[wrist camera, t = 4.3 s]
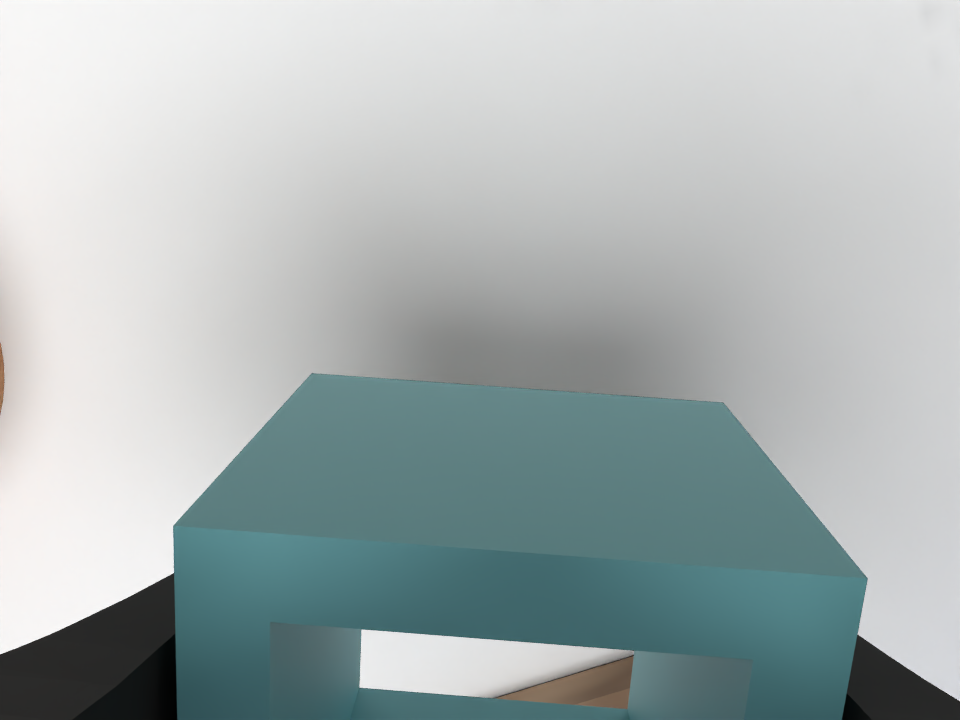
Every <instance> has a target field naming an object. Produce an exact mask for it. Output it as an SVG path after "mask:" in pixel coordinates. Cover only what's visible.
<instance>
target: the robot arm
mask: <svg viewBox="0 0 960 720" xmlns="http://www.w3.org/2000/svg"><path fill="white" fill-rule="evenodd" d="M0 720H177V682H176V633H175V585H174V573H173V574H171V575H170V576H168V577H166V578H164V579H162V580H160V581H158V582H156V583H155V584H153V585H151V586H149V587H147V588H145V589H143V590H141V591H140V592H138V593H136V594H134V595H132V596H130V597H128V598H126V599H124V600H122V601H120V602H118V603H116V604H114V605H112V606H109V607H107V608H105V609H103V610H101V611H99V612H97V613H95V614H93V615H91V616H89V617H87V618H84V619H82V620H80V621H78V622H76V623H74V624H72V625H70V626H68V627H66V628H64V629H61V630H59V631H57V632H55V633H52V634H50V635H48V636H45V637H43V638H41V639H38V640H36V641H33V642H31V643H29V644H26V645H24V646H21V647H19V648H16V649H14V650H11V651H8V652H6V653H3V654H0ZM842 720H960V701H958V700H957V699H955V698H953V697H952V696H950V695H949V694H947V693H945V692H944V691H942V690H940V689H939V688H937V687H935V686H934V685H932V684H931V683H929V682H927V681H926V680H924V679H923V678H921V677H920V676H918V675H917V674H915V673H914V672H912V671H910V670H909V669H907V668H906V667H904V666H903V665H901V664H900V663H898V662H897V661H895V660H894V659H892V658H891V657H889V656H888V655H886V654H885V653H883V652H882V651H881V650H879V649H878V648H876V647H875V646H873V645H872V644H870V643H869V642H867V641H866V640H864V639H863V638H862V637H860V636H859V635H857V639H856V645H855V650H854V655H853V661H852V666H851V672H850V677H849V683H848V688H847V694H846V699H845V704H844V710H843V715H842Z"/></svg>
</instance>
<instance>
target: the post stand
mask: <svg viewBox="0 0 960 720" xmlns="http://www.w3.org/2000/svg"><path fill="white" fill-rule="evenodd" d="M633 658H634V656H632V657H629V658H625V659H622V660H619V661H616V662H612V663H609V664H606V665H603V666H599V667H596V668H593V669H589V670H586V671H583V672H580V673H576V674H573V675H570V676H567V677H563V678H560V679H557V680H554V681H550V682H547V683H544V684H540V685H537V686H534V687H531V688H527V689H524V690H521V691H518V692H514V693H511V694H508V695H505V696H501V697H498V698H495V699H506V700H519V701H531V702H544V703H556V704H569V705H581V706H594V707H607V708H619V709H628V701H629V692H630V684H631V675H632V667H633Z"/></svg>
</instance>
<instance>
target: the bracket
mask: <svg viewBox="0 0 960 720" xmlns="http://www.w3.org/2000/svg"><path fill="white" fill-rule="evenodd" d="M3 394H4V362H3V355H2V348H1V343H0V413H1V408H2V403H3Z"/></svg>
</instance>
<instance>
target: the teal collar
mask: <svg viewBox="0 0 960 720" xmlns="http://www.w3.org/2000/svg"><path fill="white" fill-rule="evenodd" d="M173 537H174V585H175V633H176V682H177V720H842V715H843V710H844V704H845V699H846V694H847V688H848V683H849V677H850V672H851V666H852V661H853V655H854V650H855V645H856V639H857V634H858V628H859V623H860V617H861V612H862V606H863V601H864V595H865V590H866V585H867V579H868V578H867V577H866V576H865V575H864V573H863V572H862V571H861V570H860V569H859V567H858V566H857V565H856V564H855V563H854V561H853V560H852V559H851V558H850V556H849V555H848V554H847V553H846V552H845V550H844V549H843V548H842V547H841V545H840V544H839V543H838V542H837V541H836V539H835V538H834V537H833V536H832V535H831V533H830V532H829V531H828V530H827V528H826V527H825V526H824V525H823V524H822V522H821V521H820V520H819V519H818V517H817V516H816V515H815V514H814V513H813V511H812V510H811V509H810V508H809V506H808V505H807V504H806V503H805V502H804V500H803V499H802V498H801V497H800V496H799V494H798V493H797V492H796V491H795V489H794V488H793V487H792V486H791V485H790V483H789V482H788V481H787V480H786V478H785V477H784V476H783V475H782V474H781V472H780V471H779V470H778V469H777V468H776V466H775V465H774V464H773V463H772V461H771V460H770V459H769V458H768V457H767V455H766V454H765V453H764V452H763V450H762V449H761V448H760V447H759V446H758V444H757V443H756V442H755V441H754V440H753V438H752V437H751V436H750V435H749V433H748V432H747V431H746V430H745V429H744V427H743V426H742V425H741V424H740V422H739V421H738V420H737V419H736V418H735V416H734V415H733V414H732V413H731V412H730V410H729V409H728V408H727V407H726V405H725V404H724V403H721V402H707V401H693V400H679V399H665V398H651V397H637V396H623V395H609V394H595V393H581V392H567V391H553V390H539V389H525V388H511V387H497V386H483V385H469V384H455V383H441V382H427V381H413V380H399V379H385V378H371V377H357V376H343V375H328V374H314V373H312V374H311V375H310V376H309V377H308V378H307V379H306V380H305V381H304V383H303V384H302V385H301V386H300V387H299V388H298V389H297V390H296V391H295V392H294V394H293V395H292V396H291V397H290V398H289V399H288V400H287V401H286V402H285V403H284V405H283V406H282V407H281V408H280V409H279V410H278V411H277V412H276V413H275V414H274V416H273V417H272V418H271V419H270V420H269V421H268V422H267V423H266V424H265V425H264V427H263V428H262V429H261V430H260V431H259V432H258V433H257V434H256V435H255V436H254V438H253V439H252V440H251V441H250V442H249V443H248V444H247V445H246V446H245V447H244V449H243V450H242V451H241V452H240V453H239V454H238V455H237V456H236V457H235V458H234V460H233V461H232V462H231V463H230V464H229V465H228V466H227V467H226V468H225V470H224V471H223V472H222V473H221V474H220V475H219V476H218V477H217V478H216V479H215V481H214V482H213V483H212V484H211V485H210V486H209V487H208V488H207V489H206V490H205V492H204V493H203V494H202V495H201V496H200V497H199V498H198V499H197V500H196V501H195V503H194V504H193V505H192V506H191V507H190V508H189V509H188V510H187V511H186V512H185V514H184V515H183V516H182V517H181V518H180V519H179V520H178V521H177V522H176V523H175V525H174V526H173ZM361 629H365V630H378V631H391V632H404V633H416V634H429V635H442V636H455V637H468V638H480V639H493V640H506V641H519V642H532V643H544V644H557V645H570V646H583V647H596V648H608V649H621V650H634V658H633V667H632V675H631V684H630V692H629V701H628V709H619V708H607V707H594V706H581V705H569V704H556V703H544V702H531V701H519V700H506V699H494V698H481V697H468V696H456V695H443V694H431V693H418V692H406V691H393V690H381V689H368V688H359V681H360V653H361Z"/></svg>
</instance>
